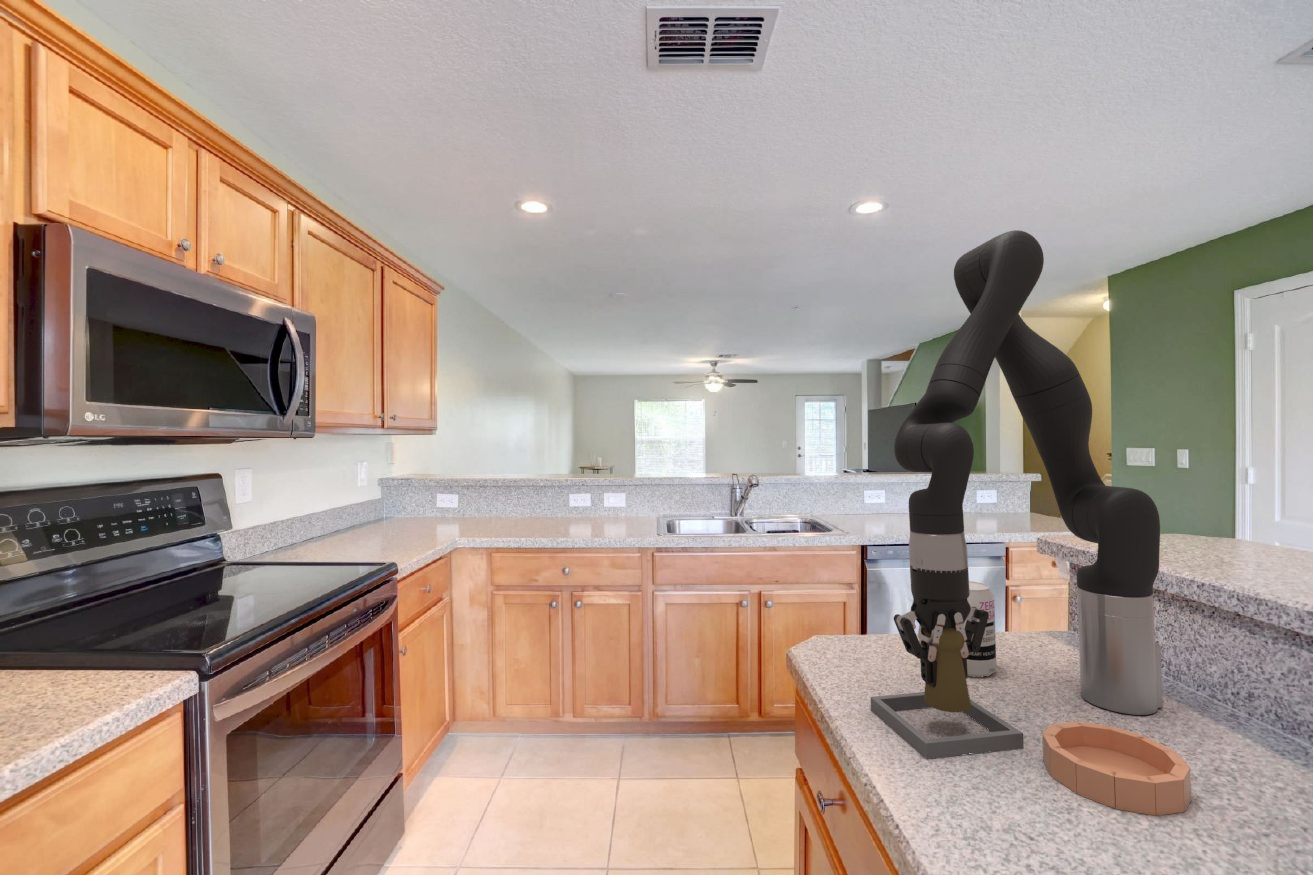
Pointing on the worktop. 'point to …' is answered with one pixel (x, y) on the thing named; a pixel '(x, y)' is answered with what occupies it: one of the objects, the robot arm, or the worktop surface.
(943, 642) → the olive pestle
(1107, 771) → the bowl
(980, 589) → the supplement can
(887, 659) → the worktop surface
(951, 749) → the rectangular frame
